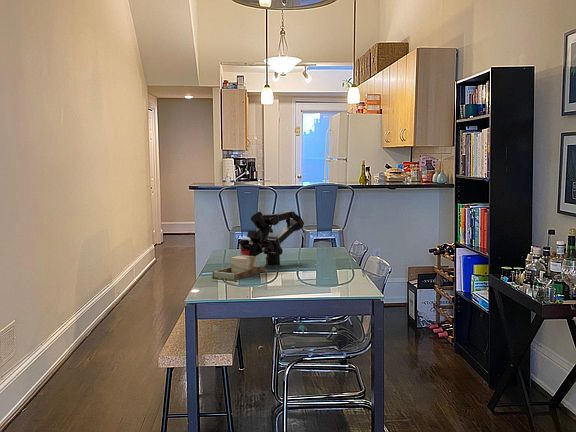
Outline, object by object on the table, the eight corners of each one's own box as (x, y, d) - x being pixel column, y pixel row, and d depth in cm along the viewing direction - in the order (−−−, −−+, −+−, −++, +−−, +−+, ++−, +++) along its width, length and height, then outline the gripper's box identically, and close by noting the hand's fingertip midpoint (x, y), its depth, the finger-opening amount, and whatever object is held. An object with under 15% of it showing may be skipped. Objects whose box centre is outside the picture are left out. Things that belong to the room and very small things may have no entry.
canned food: (253, 259, 316) (252, 240, 315) (239, 259, 318) (238, 240, 317) (256, 257, 324) (256, 238, 323) (243, 257, 325) (242, 238, 324)
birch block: (241, 269, 282) (241, 255, 282) (257, 271, 277) (257, 256, 276) (231, 272, 276) (231, 257, 275) (247, 274, 270) (247, 259, 270)
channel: (242, 270, 286) (242, 263, 286) (265, 272, 279) (265, 265, 278) (212, 278, 267) (212, 271, 267) (235, 281, 260) (235, 274, 259)
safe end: (225, 275, 275) (225, 268, 275) (248, 278, 268) (248, 270, 267) (212, 278, 267) (212, 271, 267) (235, 281, 260) (235, 274, 259)
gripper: (240, 223, 287) (227, 248, 279) (270, 225, 277) (257, 250, 269) (250, 237, 295) (237, 261, 287) (280, 239, 284) (267, 264, 276)
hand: (249, 259), depth 279 cm, fingers closed
